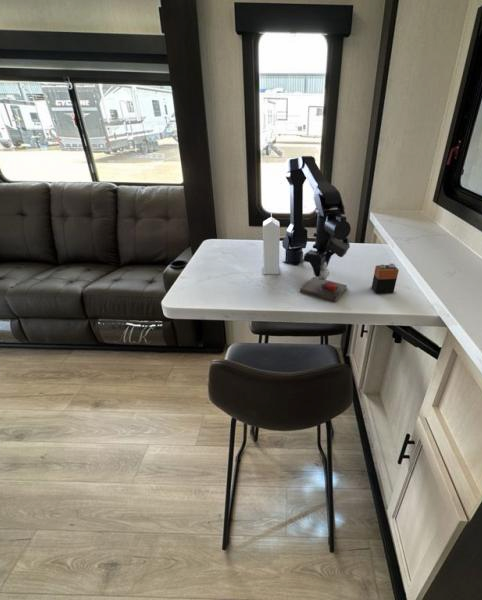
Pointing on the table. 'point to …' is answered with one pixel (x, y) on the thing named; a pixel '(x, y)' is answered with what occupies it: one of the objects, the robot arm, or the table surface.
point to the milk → (271, 245)
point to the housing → (322, 289)
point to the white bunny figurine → (323, 272)
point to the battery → (385, 278)
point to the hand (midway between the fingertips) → (320, 273)
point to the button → (331, 285)
